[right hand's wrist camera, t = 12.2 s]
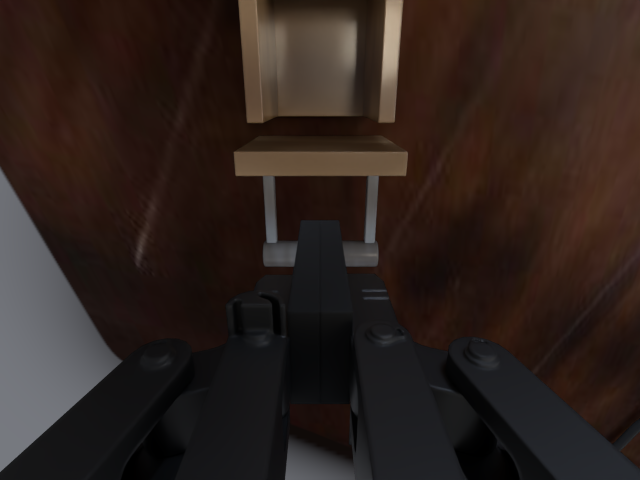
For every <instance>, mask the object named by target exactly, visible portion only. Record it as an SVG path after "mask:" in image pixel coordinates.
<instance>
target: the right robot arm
mask: <svg viewBox="0 0 640 480" xmlns="http://www.w3.org/2000/svg"><path fill="white" fill-rule="evenodd" d="M226 314H227V323H228V332H229V337H228V340H227V343H226V344H223V345H221V346H219V347H216V348H212V349H208V350H204V351H199V352H194V353H192V349H191V346H190V345H189V344H188V343H187V342H185V341H183V340H180V339H168V338H166V339H161V340H156V341H153V342H150V343H148V344H145V345H143V346H141V347H140V348H138V349H137V350H136V351H134V352H133V353H131V354H130V355H129V356H128V357H127V358H126V359H125V360H124V361H123V362H121V363H120V364H119V365H118V366H117V367H116V368H115V369H114V370H113V371H112V372H110V373H109V374H108V375H107V376H106V377H105V378H104V379H103V380H102V381H101V382H99V383H98V384H97V385H96V386H95V387H94V388H93V389H92V390H91V391H89V392H88V393H87V394H86V395H85V396H84V397H83V398H82V399H81V400H79V401H78V402H77V403H76V404H75V405H74V406H73V407H72V408H71V409H70V410H69V411H67V412H66V413H65V414H64V415H63V416H62V417H61V418H60V419H58V420H57V421H56V422H55V423H54V424H53V425H52V426H51V427H50V428H49V429H47V430H46V431H45V432H44V433H43V434H42V435H41V436H40V437H39V438H37V439H36V440H35V441H34V442H33V443H32V444H31V445H30V446H29V447H28V448H26V449H25V450H24V451H23V452H22V453H21V454H20V455H19V456H18V457H17V458H15V459H14V460H13V461H12V462H11V463H10V464H9V465H8V466H7V467H5V468H4V469H3V470H2V471H1V472H0V480H285V473H286V461H287V450H288V439H289V428H290V409H289V405H290V402H291V404H349V402H350V403H351V409H350V433H349V445H352V450H353V461H354V472H355V480H640V469H639V468H638V467H637V466H636V465H635V464H633V463H632V462H631V461H630V460H629V459H628V458H627V457H626V456H624V455H623V454H622V453H621V452H620V451H621V450H622V449H623V448H624V447H625V446H626V445H627V444H628V443H629V442H630V441H631V440H632V439H633V438H634V437H635V436H636V435H637V434H638V433H639V432H640V418H639V419H638V420H637V421H636V422H634V423H633V424H632V425H631V426H630V427H629V428H628V429H627V430H626V431H625V432H624V433H623V434H622V435H621V436H620V437H619V438H618V439H617V440H616V441H615V442H614V443H613V444H611V443H610V442H609V441H608V440H607V439H606V438H604V437H603V436H602V435H601V434H600V433H599V432H598V431H597V430H596V429H594V428H593V427H592V426H591V425H590V424H589V423H588V422H587V421H585V420H584V419H583V418H582V417H581V416H580V415H579V414H578V413H577V412H575V411H574V410H573V409H572V408H571V407H570V406H569V405H568V404H567V403H565V402H564V401H563V400H562V399H561V398H560V397H559V396H558V395H557V394H555V393H554V392H553V391H552V390H551V389H550V388H549V387H548V386H546V385H545V384H544V383H543V382H542V381H541V380H540V379H539V378H538V377H536V376H535V375H534V374H533V373H532V372H531V371H530V370H529V369H528V368H526V367H525V366H524V365H523V364H522V363H521V362H520V361H519V360H518V359H516V358H515V357H514V356H513V355H512V354H511V353H510V352H509V351H507V350H506V349H504V348H503V347H501V346H500V345H499V344H496V343H494V342H492V341H489V340H487V339H483V338H477V337H462V338H459V339H456V340H454V341H453V342H452V343H451V344H450V345H449V349H448V351H444V350H439V349H434V348H430V347H426V346H423V345H420V344H418V343H416V342H413V339H412V337H411V335H410V334H409V332H408V331H407V329H405V328H404V327H402V326H401V325H399V324H398V322H397V319H396V316H395V313H394V310H393V307H392V304H391V301H390V300H389V296H388V293H387V290H386V287H385V284H384V281H382V280H381V279H380V278H379V277H378V276H376V275H375V274H347V270H346V263H345V257H344V250H343V244H342V237H341V231H340V224H339V220H301V224H300V231H299V237H298V244H297V250H296V257H295V263H294V270H293V275H265V276H264V277H263V278H261V279H260V280H259V281H258V282H257V283H256V286H255V289H254V291H248V292H245V293H242V294H238V295H237V296H235V297H233V298H231V299H230V300H229V301H228V303H227V304H226Z"/></svg>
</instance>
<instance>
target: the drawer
mask: <svg viewBox="0 0 640 480" xmlns="http://www.w3.org/2000/svg"><path fill="white" fill-rule="evenodd" d="M238 4H239V18H240V32H241V46H242V60H243V74H244V88H245V102H246V115H247V123H264V122H266V121H268V120H270V119H273V118H275V117H277V116H364V117H367V118H369V119H371V120H374V121H376V122H378V123H394V122H395V108H396V94H397V81H398V67H399V53H400V39H401V25H402V11H403V0H238ZM407 157H408V152H407V151H405V150H404V149H402V148H401V147H399V146H397V145H396V144H394V143H392V142H391V141H389V140H388V139H386V138H384V137H383V136H258V137H257V138H255V139H254V140H252V141H251V142H249V143H247V144H246V145H244V146H243V147H241V148H239V149H238V150H236V151H235V152H234V163H235V174H236V176H263V187H264V204H265V221H266V238H267V241H265V242H264V246H263V262H264V266H266V267H294V263H295V257H296V250H297V244H298V241H277V217H276V196H275V176H367V181H366V203H365V224H364V241H342V244H343V250H344V257H345V263H346V267H376V266H377V264H378V244H377V241H375V228H376V211H377V195H378V178H379V176H406V169H407Z"/></svg>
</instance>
